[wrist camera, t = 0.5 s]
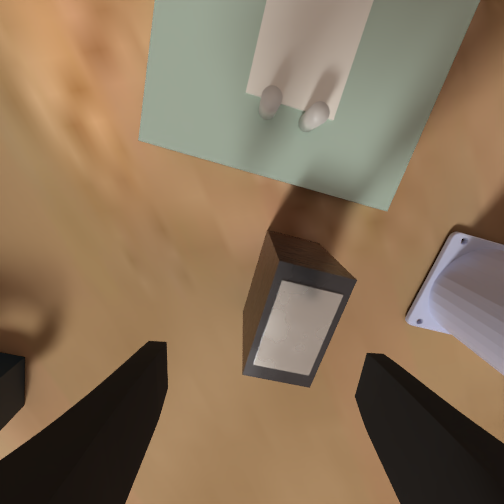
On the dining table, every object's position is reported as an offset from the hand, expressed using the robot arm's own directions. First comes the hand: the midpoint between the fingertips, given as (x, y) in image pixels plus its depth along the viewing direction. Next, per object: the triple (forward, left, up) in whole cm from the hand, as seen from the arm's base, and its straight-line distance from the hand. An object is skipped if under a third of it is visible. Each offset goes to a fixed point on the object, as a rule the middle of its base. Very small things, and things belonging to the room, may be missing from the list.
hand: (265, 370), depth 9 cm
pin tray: (+1, -14, -10) cm, 18 cm away
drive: (-2, +1, -10) cm, 11 cm away
